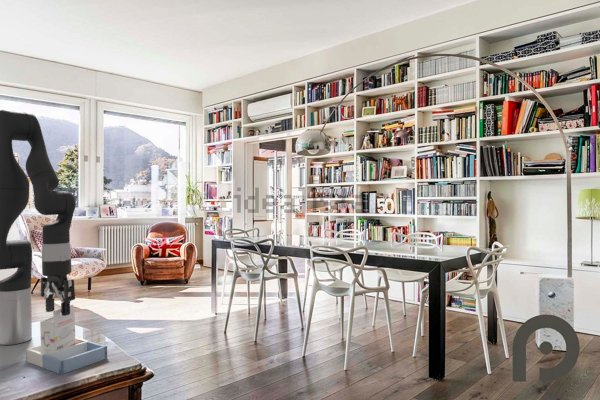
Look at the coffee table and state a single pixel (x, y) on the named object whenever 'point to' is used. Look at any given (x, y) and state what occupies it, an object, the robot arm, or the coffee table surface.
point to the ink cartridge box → (58, 331)
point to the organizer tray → (67, 356)
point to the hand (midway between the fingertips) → (57, 313)
